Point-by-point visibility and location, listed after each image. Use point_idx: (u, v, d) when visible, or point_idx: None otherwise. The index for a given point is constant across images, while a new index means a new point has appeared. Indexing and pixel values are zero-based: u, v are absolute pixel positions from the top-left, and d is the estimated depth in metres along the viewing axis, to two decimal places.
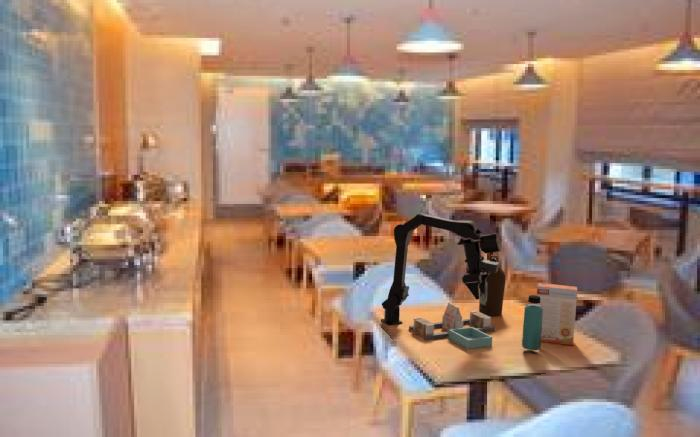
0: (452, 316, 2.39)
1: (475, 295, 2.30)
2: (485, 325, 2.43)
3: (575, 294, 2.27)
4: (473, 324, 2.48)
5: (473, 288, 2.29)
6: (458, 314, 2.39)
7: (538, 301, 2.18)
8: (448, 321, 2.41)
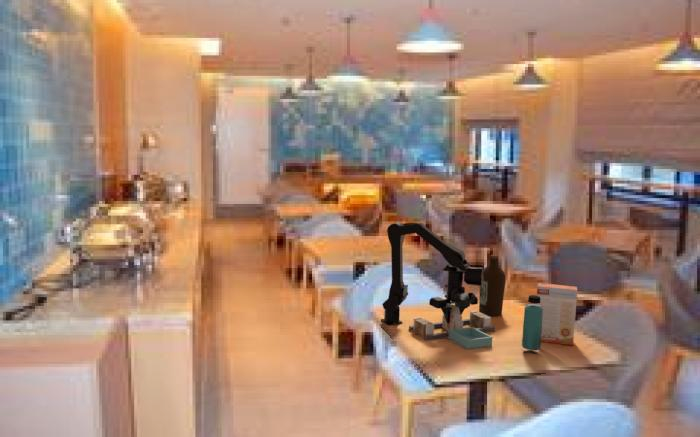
0: (452, 316, 2.39)
1: (446, 319, 2.41)
2: (485, 325, 2.43)
3: (575, 294, 2.27)
4: (473, 324, 2.48)
5: (445, 312, 2.40)
6: (458, 314, 2.39)
7: (538, 301, 2.18)
8: None
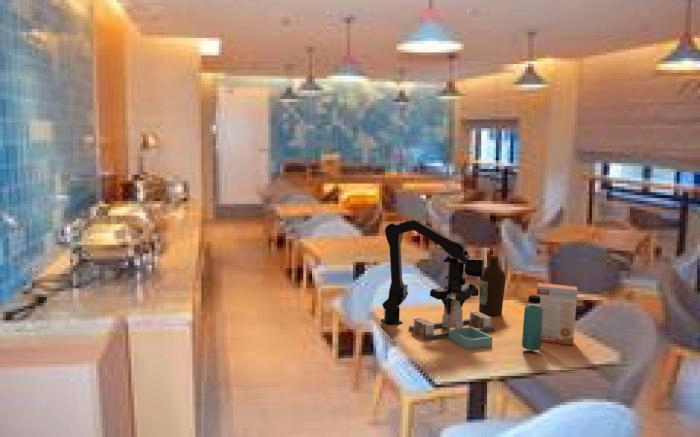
0: (453, 310, 2.38)
1: (446, 310, 2.40)
2: (485, 325, 2.43)
3: (575, 294, 2.27)
4: (473, 324, 2.48)
5: (446, 303, 2.40)
6: (459, 308, 2.39)
7: (538, 301, 2.18)
8: (448, 315, 2.41)
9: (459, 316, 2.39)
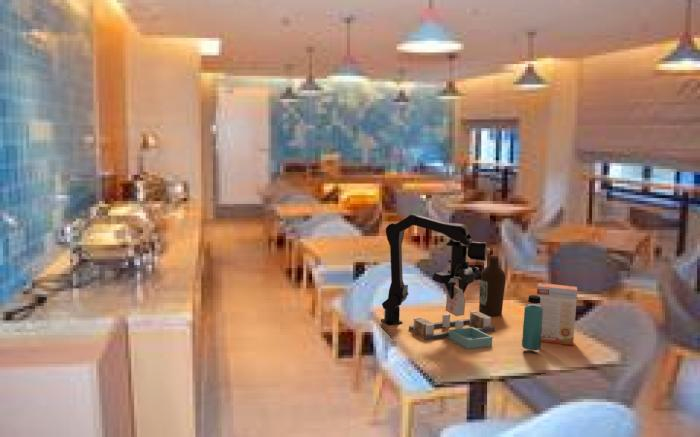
0: (456, 298, 2.36)
1: (449, 294, 2.38)
2: (485, 325, 2.43)
3: (575, 294, 2.27)
4: (473, 324, 2.48)
5: (448, 287, 2.38)
6: (462, 296, 2.37)
7: (538, 301, 2.18)
8: (451, 303, 2.39)
9: (462, 304, 2.37)
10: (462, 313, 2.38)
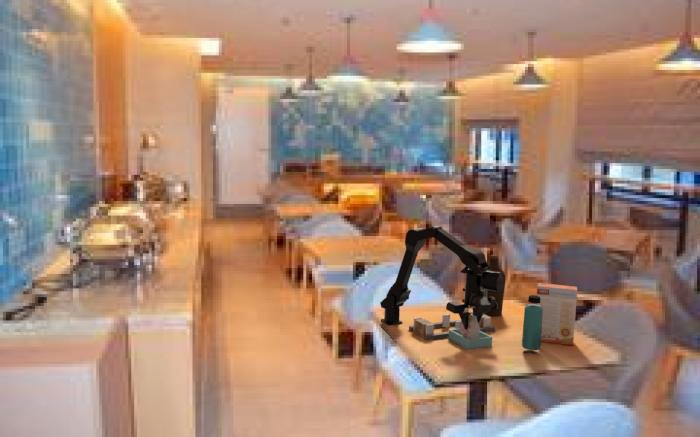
0: (469, 326, 2.26)
1: (464, 324, 2.27)
2: (485, 325, 2.43)
3: (575, 294, 2.27)
4: None
5: (463, 317, 2.27)
6: (476, 323, 2.26)
7: (538, 301, 2.18)
8: (464, 331, 2.28)
9: (476, 332, 2.26)
10: None
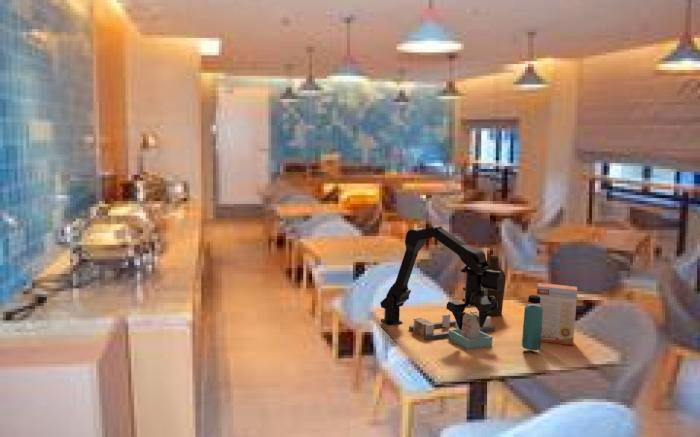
0: (469, 326, 2.26)
1: (458, 324, 2.26)
2: (485, 325, 2.43)
3: (575, 294, 2.27)
4: None
5: (457, 317, 2.26)
6: (475, 323, 2.26)
7: (538, 301, 2.18)
8: (464, 331, 2.28)
9: (476, 332, 2.26)
10: None
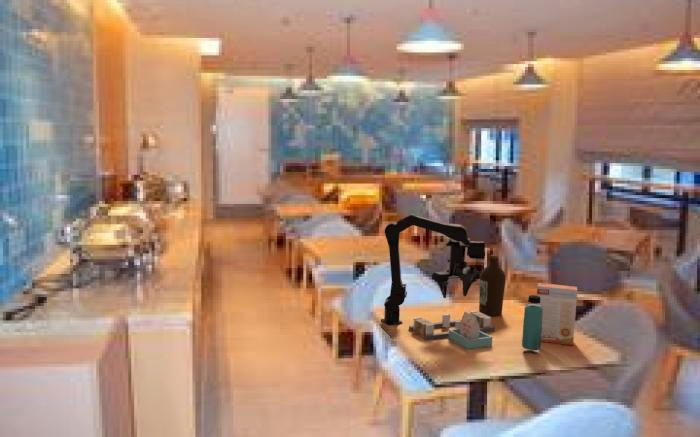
0: (469, 326, 2.26)
1: (442, 294, 2.43)
2: (485, 325, 2.43)
3: (575, 294, 2.27)
4: None
5: (442, 287, 2.42)
6: (475, 323, 2.26)
7: (538, 301, 2.18)
8: (464, 331, 2.28)
9: (476, 332, 2.26)
10: None
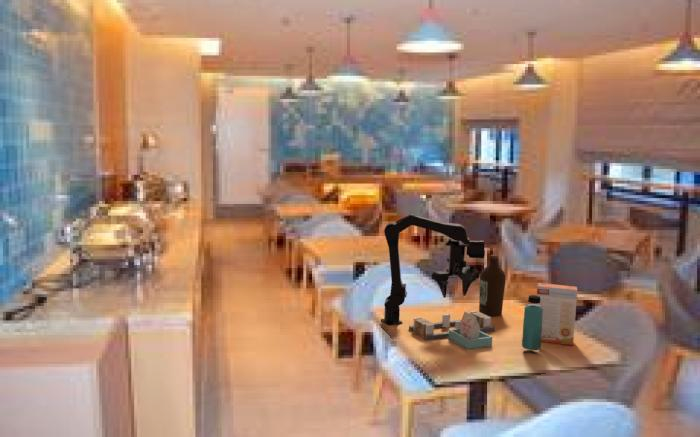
0: (469, 326, 2.26)
1: (442, 293, 2.43)
2: (485, 325, 2.43)
3: (575, 294, 2.27)
4: None
5: (441, 286, 2.43)
6: (476, 323, 2.26)
7: (538, 301, 2.18)
8: (464, 331, 2.28)
9: (476, 332, 2.26)
10: None
